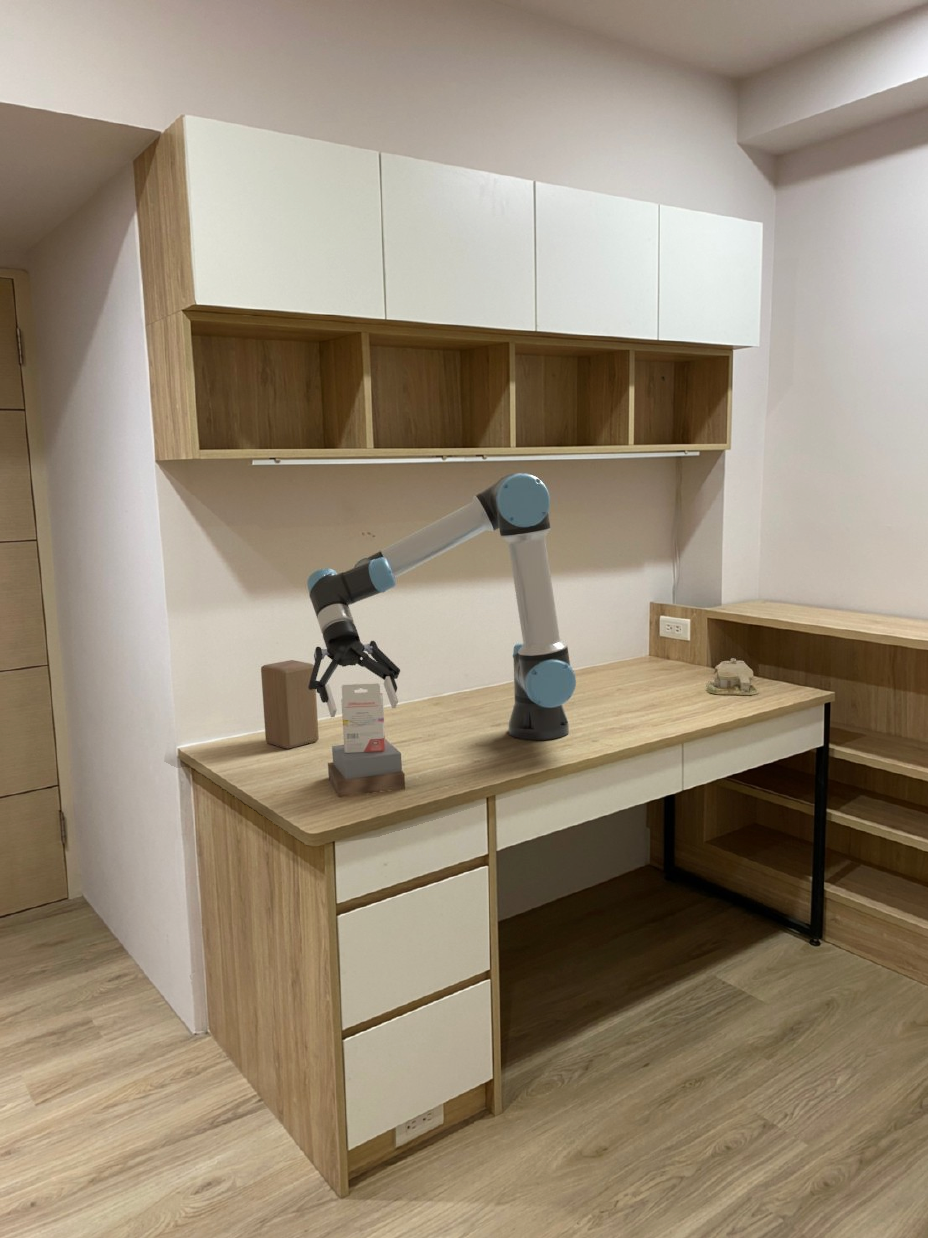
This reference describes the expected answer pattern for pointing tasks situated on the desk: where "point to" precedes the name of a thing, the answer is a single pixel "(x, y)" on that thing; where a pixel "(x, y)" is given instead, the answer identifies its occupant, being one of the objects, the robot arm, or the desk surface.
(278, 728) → the wooden block
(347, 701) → the ink cartridge box
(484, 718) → the desk surface
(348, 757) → the slate grey top slab
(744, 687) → the ceramic model
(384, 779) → the walnut base slab
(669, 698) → the desk surface
